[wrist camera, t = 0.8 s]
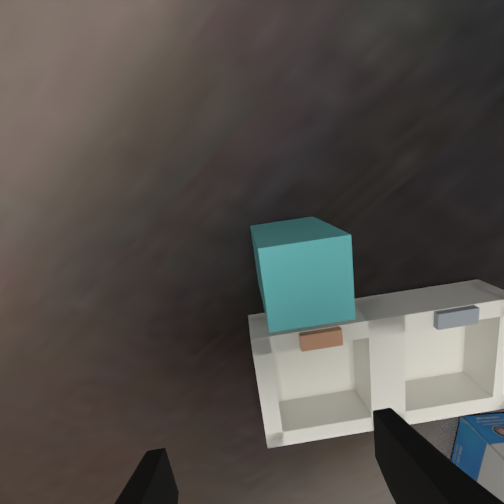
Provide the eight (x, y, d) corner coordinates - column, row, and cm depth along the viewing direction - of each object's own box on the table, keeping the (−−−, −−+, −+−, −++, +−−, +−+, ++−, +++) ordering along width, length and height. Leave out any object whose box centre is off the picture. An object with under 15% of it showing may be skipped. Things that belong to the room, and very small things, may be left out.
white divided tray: (477, 279, 20) (527, 299, 16) (470, 377, 22) (513, 412, 18) (248, 315, 19) (250, 343, 16) (263, 411, 21) (268, 454, 18)
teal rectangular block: (313, 216, 18) (351, 234, 12) (318, 276, 19) (355, 319, 13) (250, 225, 18) (257, 248, 12) (258, 285, 19) (269, 332, 13)
